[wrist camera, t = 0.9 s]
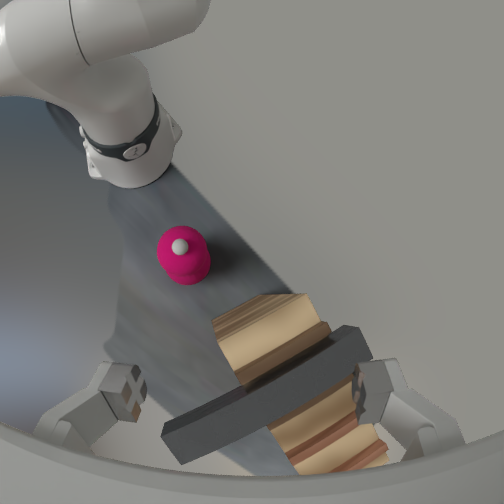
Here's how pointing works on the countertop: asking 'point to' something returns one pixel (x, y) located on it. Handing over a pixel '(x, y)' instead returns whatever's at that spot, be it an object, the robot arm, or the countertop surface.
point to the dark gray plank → (266, 396)
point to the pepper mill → (184, 255)
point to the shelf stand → (314, 411)
